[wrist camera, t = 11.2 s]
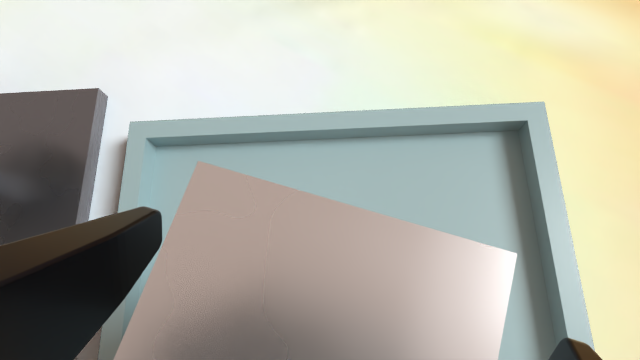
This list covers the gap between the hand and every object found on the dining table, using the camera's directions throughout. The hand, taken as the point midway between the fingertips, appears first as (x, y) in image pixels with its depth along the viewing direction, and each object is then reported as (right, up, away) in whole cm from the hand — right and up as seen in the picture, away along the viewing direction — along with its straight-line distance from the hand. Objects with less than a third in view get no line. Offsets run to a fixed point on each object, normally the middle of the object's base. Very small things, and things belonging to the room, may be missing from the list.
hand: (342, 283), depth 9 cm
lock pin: (0, -3, +7) cm, 8 cm away
